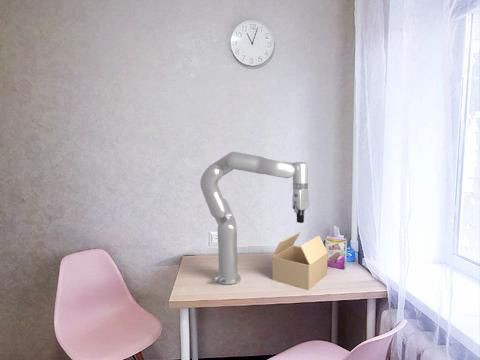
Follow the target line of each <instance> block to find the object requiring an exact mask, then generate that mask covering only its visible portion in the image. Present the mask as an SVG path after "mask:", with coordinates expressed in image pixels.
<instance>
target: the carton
mask: <svg viewBox="0 0 480 360" xmlns="http://www.w3.org/2000/svg"><path fill="white" fill-rule="evenodd" d="M271 265H272V268H271V269H272V280H273V281H275V282H279V283H282V284H286V285H289V286H293V287H296V288H300V289H303V290H306V291H310V290H311V289H312V288H313V287H314V286H315V285H317V284H318V283H319V282H320V281H321V280H323V279H324V278H325V277H326V276H327V275H328V266H327V253H326V254H325V255H323V256H322V257H320V258H319V259H318V260H316V261H315V262H313V263H312V264H311V265H309V264H308V262H307V260H306V257H305V255H304V253H303V251H302V249H301V247H300V246H297V245H296V246H295V245H293V246H291V247H290V248H288V249H286V250H284V251H282V252H280V253H279V254H277V255H275V256H272V263H271Z"/></svg>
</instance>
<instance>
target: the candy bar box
mask: <svg viewBox="0 0 480 360" xmlns="http://www.w3.org/2000/svg"><path fill="white" fill-rule="evenodd" d="M324 246H325V248H326V250H327V252H328V253H327V268H328V267H329V268H334V269H339V270H345V269H346V268H347V256H348V255H347V253H348V252H347V251H348V247H347V246H348V239H347V238H344V237H336V236H330V235H327V236H326V237H324Z"/></svg>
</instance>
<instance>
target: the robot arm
mask: <svg viewBox="0 0 480 360" xmlns="http://www.w3.org/2000/svg"><path fill="white" fill-rule="evenodd" d="M234 170H237V171H243V172H248V173H253V174H258V175H266V176H271V177H272V176H273V177H277V178H283V179H290V178H292V199H291V200H292V203H291V204H292V205H291V206H292V209H293V211H294V212H293V213H295V215H296V223H299V224H302V223H304V222H305V211H306V209H308V208H309V207H310V196H309V182H308V181H309V165H308V163H307V162H306V161H296V162H291V161H290V162H289V161H279V160H274V159H270V158H266V157H264V156H259V155H255V154H250V153H249V154H248V153H243V152H237V151H231V152H228V153H227V154H226V155H224V156H222V158H219V159H218V160H217V161H215V162H213V163H212V164H210V165H208V167H207V168H206V169H205V170H204V171H203V173H202V175H201V178H200V181H199V182H200V188H201V189H200V190H201V192H202V195H203V197H204V199H205V203H206V204H207V208H208V209H209V213H210V215H211V216H213V218H214V219H215V222H216V223H217V245H218V246H217V247H218V248H217V250H218V272H217V276H215V277H213V278H212V281H213V282H214V283H216V282H217V283H218V284H221V285H224V286H225V285H229V286H230V285H235V284H237V283H239V282H240V281H241V280H242V279H241V277H242V276H241V275H240V274H238V269H239V268H238V229H237V228H238V227H237V222H236V219H235V217H234V214H233V211H232V209H231V207H230V205H229V202H228V201H227V200H226V199H225V198H224V197H223V193H222V192H221V190H220V187H219V181H220V180H222V178H223V177H224V176H225V175H227V174H229V173H230V172H232V171H234Z"/></svg>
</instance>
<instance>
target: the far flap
mask: <svg viewBox="0 0 480 360" xmlns="http://www.w3.org/2000/svg"><path fill="white" fill-rule="evenodd" d="M300 234H301V231H299V232H297V233H295V234H292V235H291V236H288V237H287V238H284V239H283V240H280V241H279V243H278V245H277V247H276V248H275V250H274V252H273V254H272V257H273V256H275V255H277V254H279V253H281V252H283V251H284V250H286V249H288V248H290V247H292V246H294V245H295V243H296V241H297V240H298V237H299V236H300Z"/></svg>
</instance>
